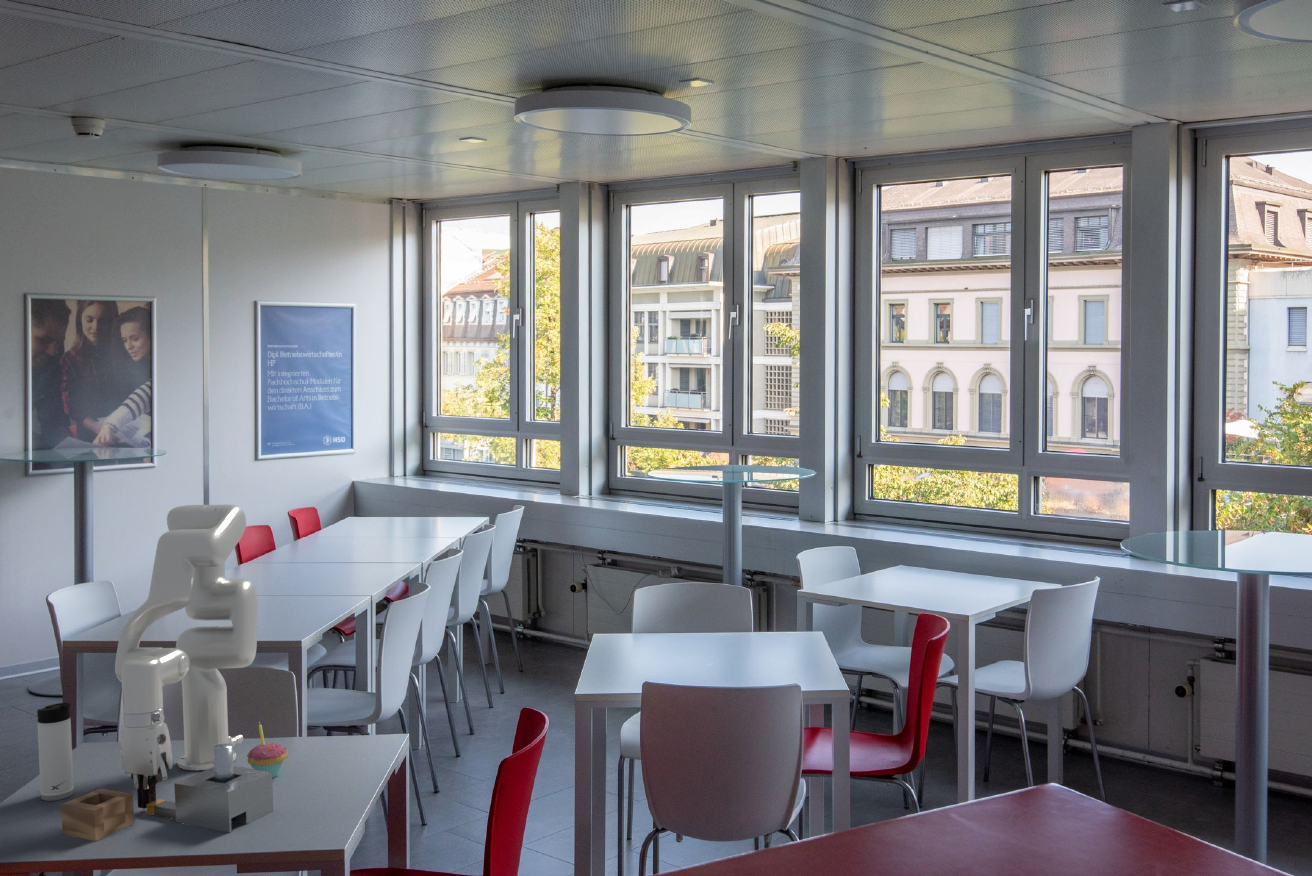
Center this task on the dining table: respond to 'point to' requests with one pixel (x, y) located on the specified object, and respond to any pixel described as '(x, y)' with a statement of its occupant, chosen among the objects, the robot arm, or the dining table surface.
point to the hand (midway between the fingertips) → (147, 805)
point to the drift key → (162, 808)
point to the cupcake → (267, 756)
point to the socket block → (223, 799)
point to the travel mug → (55, 752)
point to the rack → (97, 814)
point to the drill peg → (223, 763)
